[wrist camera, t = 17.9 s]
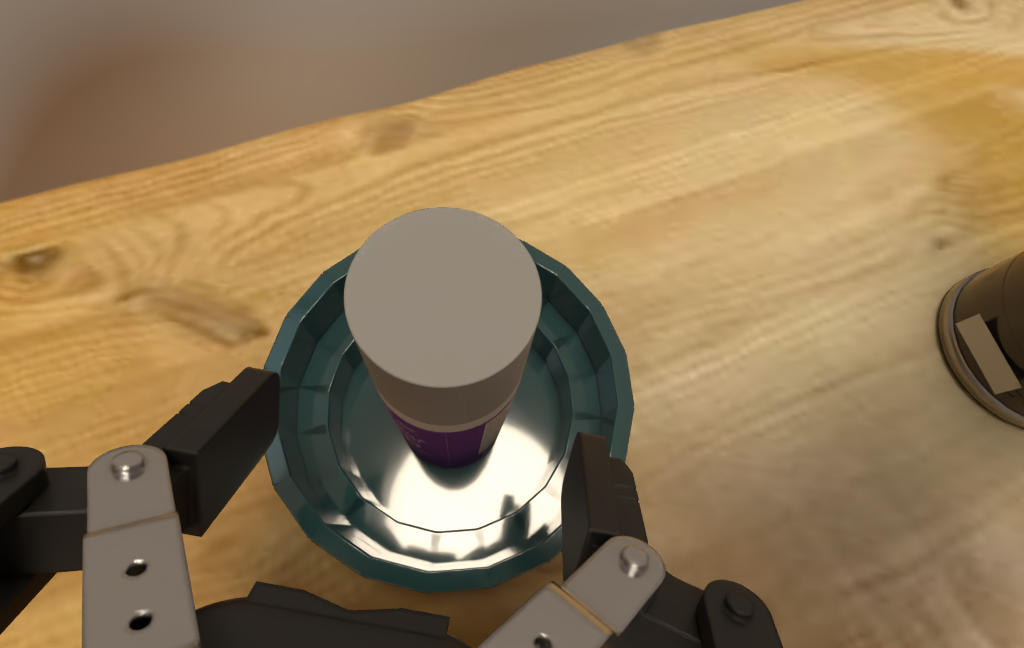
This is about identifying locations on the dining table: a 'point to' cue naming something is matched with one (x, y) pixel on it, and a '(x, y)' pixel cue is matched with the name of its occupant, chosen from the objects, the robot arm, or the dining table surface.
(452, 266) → the container
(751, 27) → the dining table surface
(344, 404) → the bowl
